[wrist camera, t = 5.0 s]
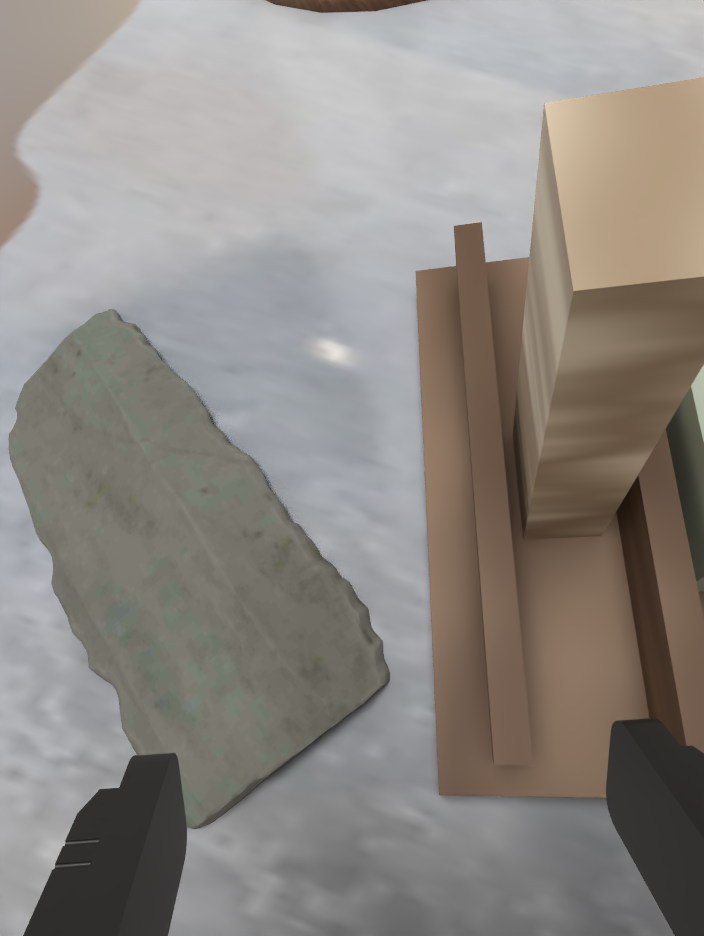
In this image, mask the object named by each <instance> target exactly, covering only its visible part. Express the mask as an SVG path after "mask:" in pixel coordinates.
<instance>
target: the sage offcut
mask: <svg viewBox="0 0 704 936" xmlns="http://www.w3.org/2000/svg"><path fill="white" fill-rule="evenodd" d="M666 433H667V438H668V443H669V448H670V453H671V458H672V463H673V468H674V473H675V478H676V483H677V488H678V493H679V498H680V503H681V508H682V513H683V518H684V523H685V527H686V532H687V537H688V542H689V547H690V552H691V557H692V562H693V567H694V572H695V577H696V582H697V587H698V592H703V591H704V365H703V367H702V368H701V370H700V372H699V373H698V375H697V377H696V378H695V380H694V382H693V383H692V385H691V387H690V388H689V390H688V392H687V393H686V395H685V397H684V398H683V400H682V402H681V404H680V405H679V407H678V409H677V410H676V412H675V414H674V415H673V417H672V419H671V420H670V422H669V424H668V425H667V427H666Z"/></svg>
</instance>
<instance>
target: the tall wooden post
mask: <svg viewBox="0 0 704 936" xmlns="http://www.w3.org/2000/svg"><path fill="white" fill-rule="evenodd" d="M703 365H704V78H697V79H691V80H685V81H679V82H672V83H666V84H660V85H654V86H647V87H641V88H635V89H629V90H622V91H616V92H610V93H604V94H597V95H591V96H585V97H579V98H572V99H566V100H560V101H554V102H547V103H544V111H543V121H542V132H541V142H540V153H539V163H538V174H537V184H536V195H535V205H534V216H533V226H532V237H531V247H530V258H529V268H528V279H527V289H526V300H525V310H524V321H523V331H522V342H521V352H520V363H519V373H518V384H517V394H516V405H515V415H514V426H513V445H514V454H515V464H516V474H517V484H518V493H519V503H520V513H521V523H522V533H523V540H531V539H552V538H572V537H592V536H602V535H603V533H604V531H605V530H606V528H607V526H608V525H609V523H610V521H611V519H612V518H613V516H614V514H615V513H616V511H617V509H618V508H619V506H620V504H621V503H622V501H623V499H624V498H625V496H626V494H627V493H628V491H629V489H630V488H631V486H632V484H633V483H634V481H635V479H636V477H637V476H638V474H639V472H640V471H641V469H642V467H643V466H644V464H645V462H646V461H647V459H648V457H649V456H650V454H651V452H652V451H653V449H654V447H655V446H656V444H657V442H658V441H659V439H660V437H661V435H662V434H663V432H664V430H665V429H666V427H667V425H668V424H669V422H670V420H671V419H672V417H673V415H674V414H675V412H676V410H677V409H678V407H679V405H680V404H681V402H682V400H683V398H684V397H685V395H686V393H687V392H688V390H689V388H690V387H691V385H692V383H693V382H694V380H695V378H696V377H697V375H698V373H699V372H700V370H701V368H702V367H703Z"/></svg>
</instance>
